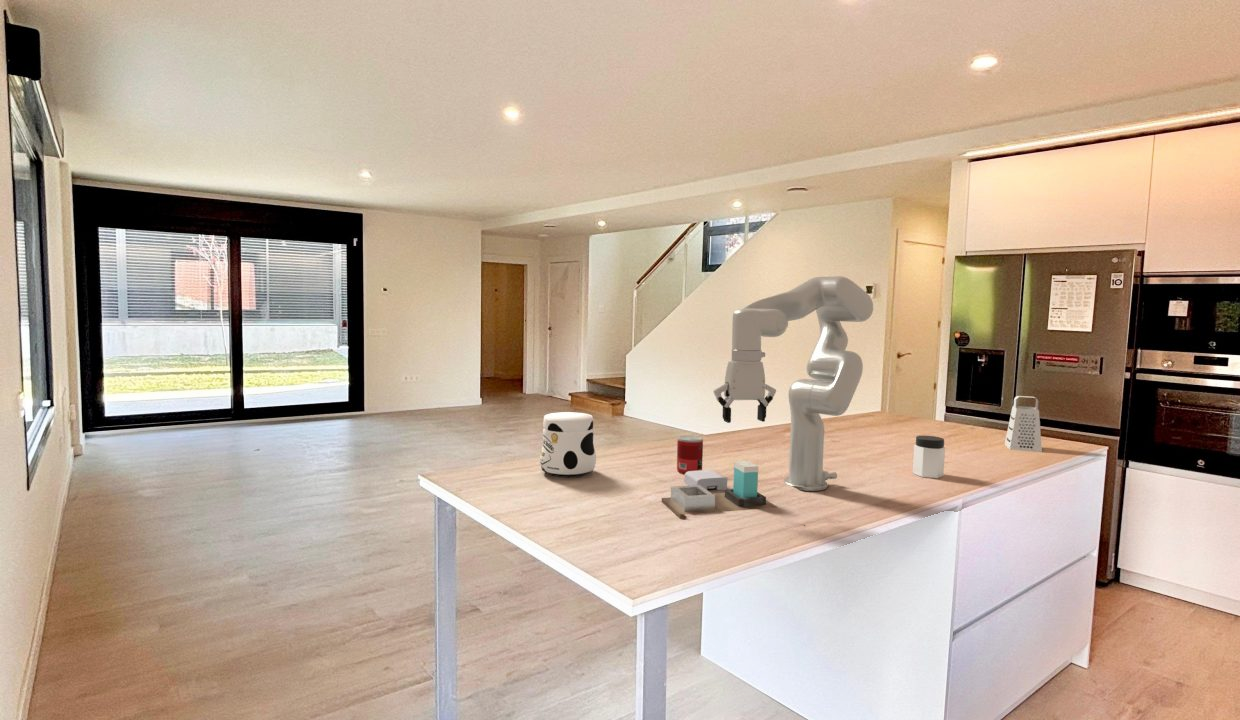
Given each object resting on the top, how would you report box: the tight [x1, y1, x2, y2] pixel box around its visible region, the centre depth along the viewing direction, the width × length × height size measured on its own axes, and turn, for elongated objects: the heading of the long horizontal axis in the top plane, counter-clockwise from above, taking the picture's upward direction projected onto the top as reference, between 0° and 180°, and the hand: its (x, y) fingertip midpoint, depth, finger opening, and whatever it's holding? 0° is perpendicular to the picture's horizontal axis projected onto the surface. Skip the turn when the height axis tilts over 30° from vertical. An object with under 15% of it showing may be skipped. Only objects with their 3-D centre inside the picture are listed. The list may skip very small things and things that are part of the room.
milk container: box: [539, 411, 597, 478], centre depth 201 cm, size 17×17×18 cm
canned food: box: [676, 435, 704, 475], centre depth 205 cm, size 8×8×11 cm
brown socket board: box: [661, 488, 778, 519], centre depth 171 cm, size 27×14×3 cm, turn 105°
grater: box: [1004, 395, 1043, 453], centre depth 250 cm, size 10×10×20 cm
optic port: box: [670, 485, 716, 512], centre depth 169 cm, size 8×10×4 cm
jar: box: [912, 435, 946, 479], centre depth 207 cm, size 9×8×12 cm
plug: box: [732, 460, 759, 498], centre depth 172 cm, size 4×6×10 cm, turn 15°
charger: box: [684, 469, 728, 491], centre depth 189 cm, size 5×9×15 cm
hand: (744, 421), depth 171 cm, fingers open, 9 cm apart
